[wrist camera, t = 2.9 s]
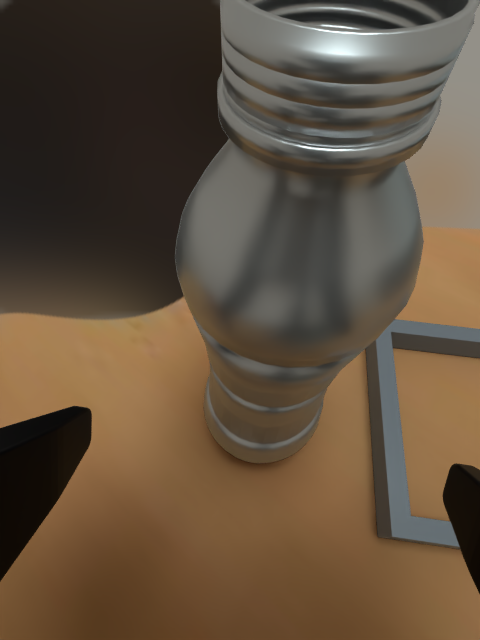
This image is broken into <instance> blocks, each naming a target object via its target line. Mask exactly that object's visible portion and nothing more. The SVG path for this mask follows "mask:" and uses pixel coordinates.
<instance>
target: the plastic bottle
mask: <svg viewBox="0 0 480 640" xmlns="http://www.w3.org/2000/svg"><path fill="white" fill-rule="evenodd" d="M479 4H480V0H221V1H220V12H221V37H222V66H223V71H222V73H221V75H220V78H219V80H218V92H217V93H218V115H219V120H220V123H221V126H222V129H223V130H224V132H225V133H226V134H227V136H228V137H229V140H228V141H227V143H226V144H225V145H224V146H223V147H222V149H221V150H220V151H219V152H218V154H217V155H216V156H215V158H214V159H213V160H212V161H211V163H210V164H209V166H208V167H207V169H206V170H205V171H204V173H203V175H202V176H201V178H200V180H199V181H198V183H197V185H196V186H195V188H194V190H193V191H192V193H191V195H190V196H189V198H188V200H187V203H186V206H185V208H184V210H183V213H182V217H181V222H180V227H179V232H178V237H177V243H176V252H175V261H176V268H177V275H178V278H179V281H180V284H181V288H182V291H183V295H184V297H185V300H186V302H187V304H188V307H189V309H190V311H191V313H192V315H193V317H194V320H195V322H196V324H197V326H198V329H199V331H200V333H201V335H202V337H203V340H204V342H205V345H206V349H207V354H208V358H209V361H210V374H209V377H208V380H207V384H206V388H205V394H204V414H205V420H206V423H207V425H208V428H209V431H210V432H211V434H212V435H213V437H214V439H215V440H216V441H217V442H218V443H219V444H220V445H221V446H222V447H223V449H224V450H226V451H227V452H229V453H230V454H232V455H233V456H235V457H236V458H239V459H241V460H244V461H246V462H252V463H271V462H275V461H279V460H282V459H285V458H287V457H289V456H291V455H293V454H295V453H296V452H297V451H299V450H300V449H301V448H302V447H303V446H305V444H306V443H307V442H308V441H309V439H310V438H311V437H312V435H313V434H314V432H315V430H316V428H317V426H318V422H319V419H320V415H321V411H322V407H323V398H324V395H325V392H326V390H327V387H328V386H329V385H330V383H331V382H332V381H333V379H334V378H335V377H336V376H337V374H338V373H339V372H340V371H341V370H342V369H343V368H344V367H345V366H346V365H347V364H348V363H350V362H351V361H352V360H353V359H354V358H355V357H356V356H358V355H359V354H360V353H361V352H362V351H363V350H364V349H366V348H367V347H368V346H369V345H370V344H371V343H372V342H373V341H375V340H376V339H377V338H378V337H379V336H380V335H381V334H382V333H383V331H384V330H385V329H386V328H387V327H388V326H389V325H390V324H391V323H392V322H393V320H394V319H395V318H396V317H397V316H398V314H399V313H400V312H401V311H402V310H403V308H404V307H405V306H406V305H407V302H408V300H409V298H410V296H411V294H412V292H413V290H414V287H415V283H416V279H417V274H418V270H419V265H420V261H421V255H422V249H423V243H424V240H423V232H422V224H421V219H420V213H419V208H418V203H417V198H416V192H415V189H414V187H413V184H412V181H411V178H410V175H409V173H408V170H407V166H406V164H405V160H407V159H409V158H410V157H411V156H413V155H414V154H415V153H416V152H417V151H418V150H419V149H420V148H421V147H422V146H423V144H424V142H425V141H426V139H427V137H428V135H429V133H430V131H431V129H432V127H433V125H434V123H435V121H436V118H437V116H438V114H439V112H440V106H441V97H440V95H441V93H442V91H443V88H444V86H445V84H446V82H447V80H448V77H449V75H450V73H451V71H452V69H453V67H454V64H455V62H456V60H457V58H458V56H459V54H460V52H461V50H462V47H463V45H464V43H465V41H466V38H467V37H468V34H469V32H470V30H471V28H472V25H473V24H474V16H475V12H476V10H477V8H478V6H479Z"/></svg>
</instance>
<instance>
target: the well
mask: <svg viewBox="0 0 480 640" xmlns="http://www.w3.org/2000/svg"><path fill="white" fill-rule="evenodd" d="M393 348H400V349H408V350H416V351H425V352H433V353H441V354H450V355H458V356H466V357H475V358H480V329H474V328H465V327H457V326H448V325H439V324H431V323H422V322H414V321H405V320H396V319H394V320H393V322H392V323H391V324H390V325H389V326H388V327H387V328H386V329H385V330H384V331H383V333H382V334H381V335H380V336H379V337H378V338H377V339H376V340H375V341H373V342H372V343H371V344H370V345H369V346H368V347H367V348H366V361H367V377H368V393H369V408H370V424H371V440H372V456H373V471H374V487H375V503H376V519H377V535H378V537H381V538H388V539H395V540H401V541H408V542H415V543H421V544H428V545H435V546H441V547H448V548H455V549H460V546H459V544H458V541H457V538H456V535H455V533H454V530H453V527H452V524H451V522H449V521H442V520H435V519H428V518H421V517H414V516H411V512H410V503H409V494H408V485H407V476H406V466H405V457H404V448H403V439H402V430H401V420H400V411H399V402H398V393H397V384H396V374H395V365H394V356H393Z"/></svg>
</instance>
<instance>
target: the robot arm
mask: <svg viewBox="0 0 480 640" xmlns="http://www.w3.org/2000/svg"><path fill="white" fill-rule="evenodd" d="M91 422H92V414H91V410H90V409H89V408H86V407H79V406H72V407H69V408H65V409H62V410H59V411H55V412H52V413H49V414H46V415H42V416H39V417H36V418H32V419H29V420H26V421H22V422H19V423H16V424H12V425H9V426H6V427H2V428H0V581H1V580H2V578H3V577H4V575H5V574H6V573H7V571H8V570H9V568H10V567H11V566H12V564H13V563H14V561H15V560H16V559H17V557H18V556H19V554H20V553H21V551H22V550H23V549H24V547H25V546H26V544H27V543H28V542H29V540H30V539H31V537H32V536H33V535H34V533H35V532H36V530H37V529H38V528H39V526H40V525H41V523H42V522H43V521H44V519H45V518H46V516H47V515H48V514H49V512H50V511H51V509H52V508H53V507H54V505H55V504H56V502H57V501H58V499H59V497H60V496H61V494H62V493H63V491H64V489H65V487H66V486H67V484H68V482H69V480H70V479H71V477H72V475H73V473H74V472H75V470H76V468H77V466H78V465H79V463H80V461H81V459H82V458H83V456H84V454H85V452H86V451H87V449H88V447H89V445H90V441H91ZM443 502H444V505H445V508H446V511H447V514H448V516H449V519H450V522H451V524H452V527H453V530H454V533H455V535H456V538H457V541H458V544H459V546H460V549H461V552H462V555H463V557H464V560H465V562H466V565H467V567H468V570H469V572H470V574H471V577H472V579H473V581H474V583H475V585H476V587H477V589H478V592H479V594H480V470H479V469H477V468H475V467H473V466H470V465H464V464H453V465H452V466H451V468H450V470H449V474H448V477H447V480H446V484H445V487H444V491H443Z"/></svg>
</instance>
